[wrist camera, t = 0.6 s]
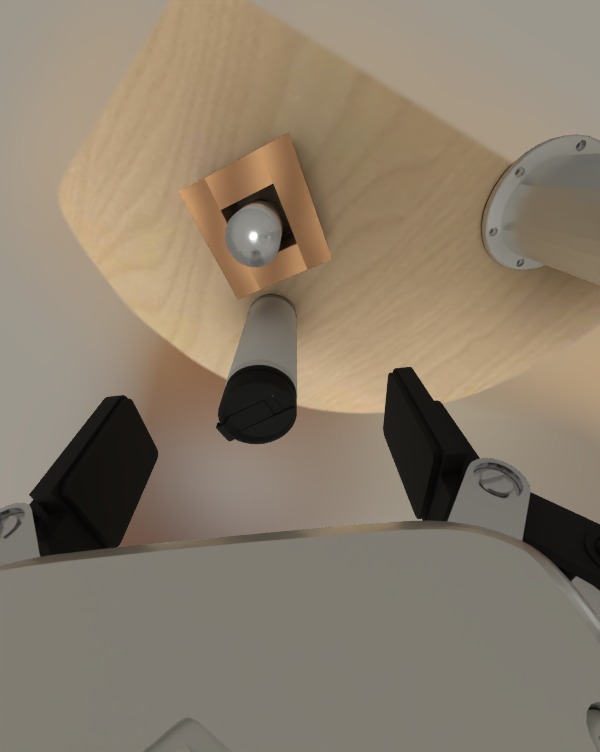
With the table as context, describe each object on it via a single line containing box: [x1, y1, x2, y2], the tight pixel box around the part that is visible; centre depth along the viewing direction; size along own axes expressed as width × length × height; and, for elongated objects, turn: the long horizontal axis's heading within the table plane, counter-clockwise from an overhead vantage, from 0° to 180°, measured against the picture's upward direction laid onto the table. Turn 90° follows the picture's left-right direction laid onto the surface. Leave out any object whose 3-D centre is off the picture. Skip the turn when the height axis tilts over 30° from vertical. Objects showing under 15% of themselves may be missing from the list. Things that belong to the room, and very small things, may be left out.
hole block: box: [179, 133, 332, 299], centre depth 30 cm, size 10×10×8 cm
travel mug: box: [216, 295, 297, 444], centre depth 32 cm, size 6×7×20 cm
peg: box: [225, 199, 283, 267], centre depth 25 cm, size 4×4×8 cm
